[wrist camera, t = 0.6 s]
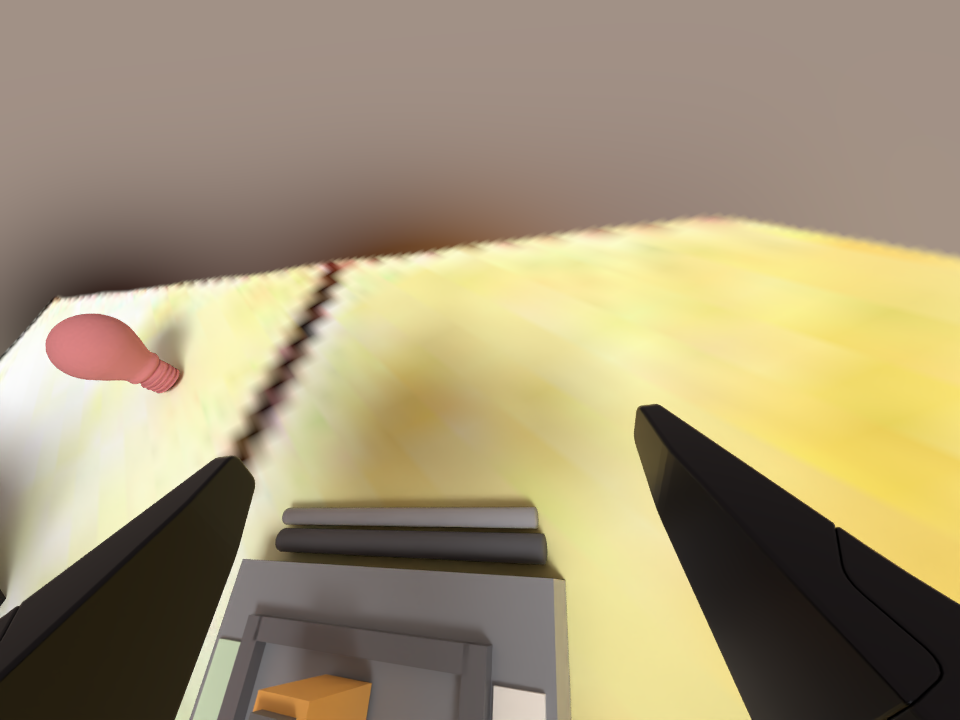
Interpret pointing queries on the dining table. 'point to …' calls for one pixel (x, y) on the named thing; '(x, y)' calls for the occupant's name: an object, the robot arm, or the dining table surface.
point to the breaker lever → (314, 700)
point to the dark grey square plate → (417, 533)
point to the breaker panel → (394, 641)
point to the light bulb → (106, 353)
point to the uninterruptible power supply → (2, 597)
